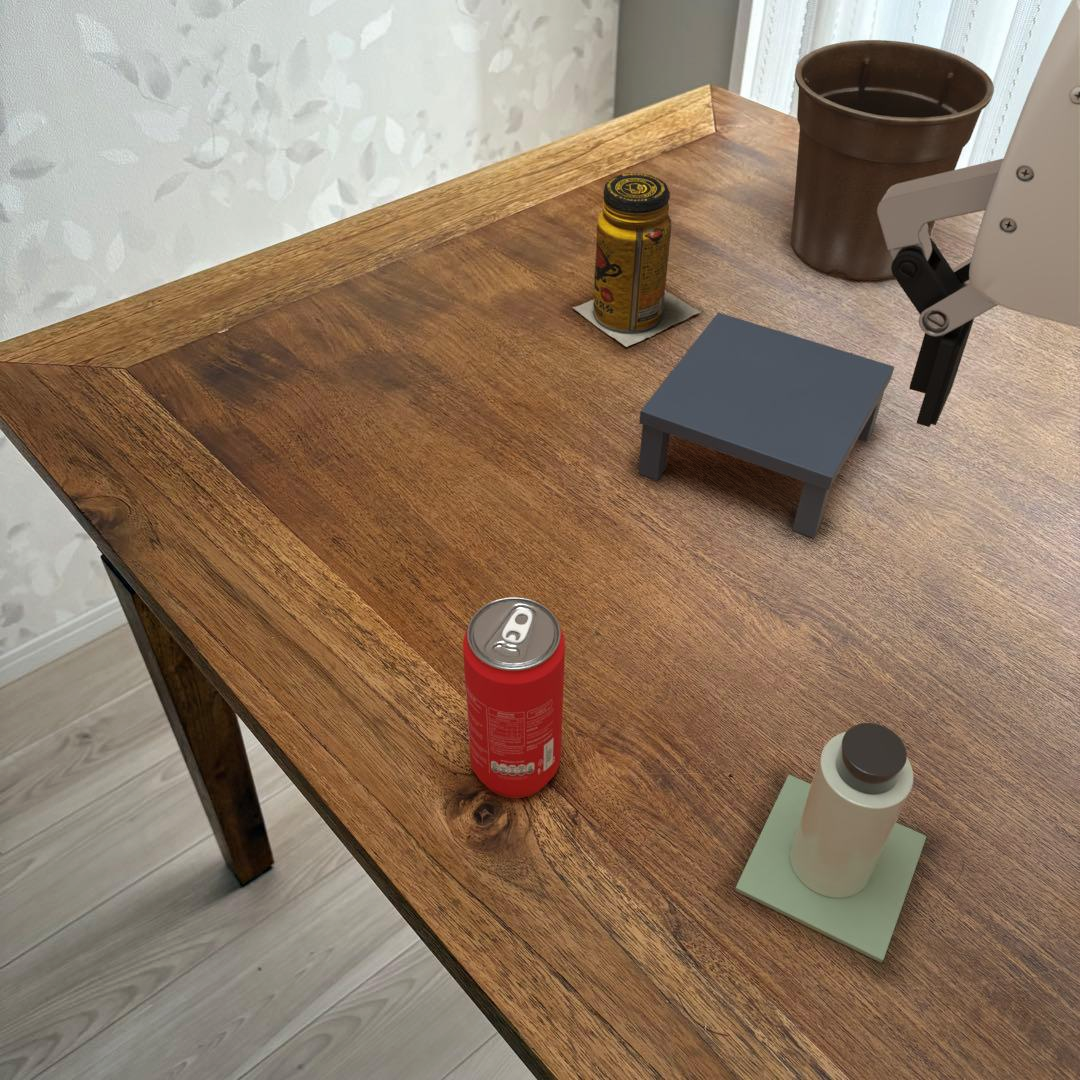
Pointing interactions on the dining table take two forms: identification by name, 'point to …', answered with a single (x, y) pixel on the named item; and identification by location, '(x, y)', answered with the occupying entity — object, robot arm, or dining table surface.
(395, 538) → the dining table surface
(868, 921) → the coaster
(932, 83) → the plant pot
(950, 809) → the dining table surface
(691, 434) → the grey miniature table
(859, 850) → the spice bottle
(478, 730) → the beverage can
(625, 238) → the condiment
